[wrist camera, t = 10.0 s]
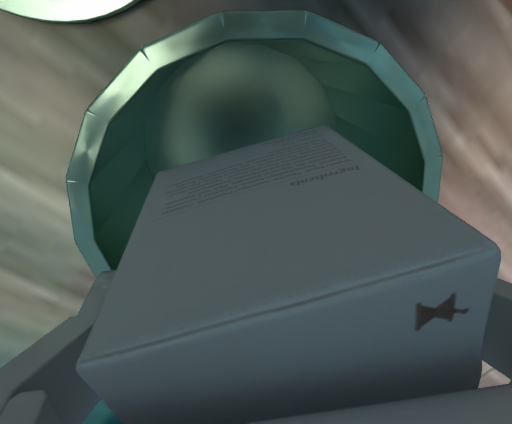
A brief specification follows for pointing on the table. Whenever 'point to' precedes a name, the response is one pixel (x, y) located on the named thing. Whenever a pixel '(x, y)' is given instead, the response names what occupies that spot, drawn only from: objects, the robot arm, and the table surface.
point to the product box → (288, 290)
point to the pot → (239, 112)
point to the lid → (65, 9)
